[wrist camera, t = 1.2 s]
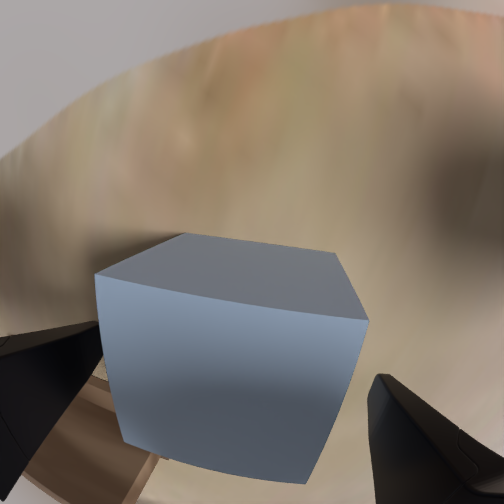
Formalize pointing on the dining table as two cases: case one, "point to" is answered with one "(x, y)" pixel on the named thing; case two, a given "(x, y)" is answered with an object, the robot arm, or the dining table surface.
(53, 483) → the wooden l bracket
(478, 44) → the dining table surface
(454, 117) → the dining table surface
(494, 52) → the dining table surface
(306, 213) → the dining table surface
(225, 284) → the letter cube
